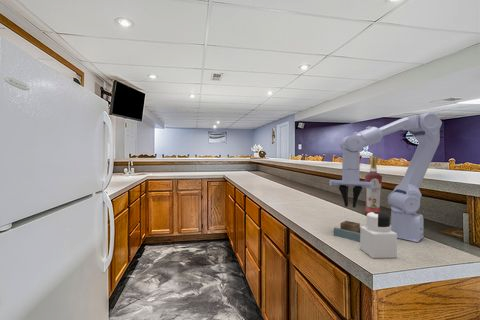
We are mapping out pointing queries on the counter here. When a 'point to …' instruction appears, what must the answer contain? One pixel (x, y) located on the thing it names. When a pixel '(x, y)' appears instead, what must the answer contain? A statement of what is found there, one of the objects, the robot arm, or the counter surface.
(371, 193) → the liquor
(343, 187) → the robot arm
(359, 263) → the counter surface
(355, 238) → the chute
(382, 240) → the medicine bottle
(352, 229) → the walnut block
